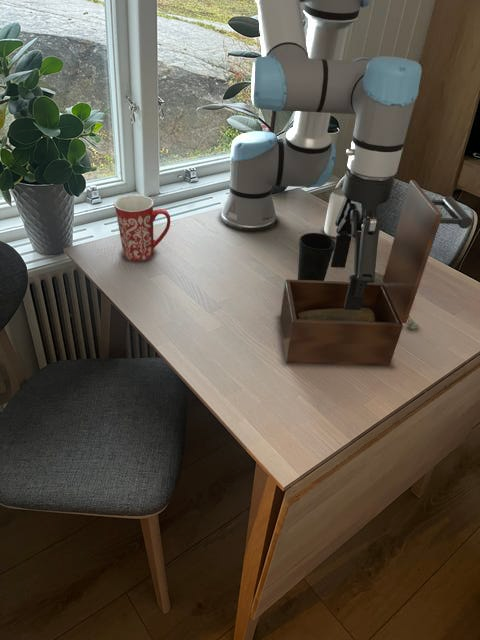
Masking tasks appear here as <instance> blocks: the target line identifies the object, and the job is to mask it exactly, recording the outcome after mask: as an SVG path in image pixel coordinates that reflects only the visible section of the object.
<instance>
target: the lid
mask: <svg viewBox="0 0 480 640" xmlns="http://www.w3.org/2000/svg"><path fill="white" fill-rule="evenodd" d="M438 206H442V208H443V209H444V210H445V211H446V212H447V213H448V214H449V216H450V217H443V213H442V212H441V211H440V209H439V208H438ZM399 215H400V216H399V219H398V222H397V226H396V230H395V234H394V238H393V241H392V245H391V248H390V252H389V255H388V258H387V263H386V266H385V270H384V273H383V275H384V277H383V283H384V286H385V288H386V290H387V292H388V294H389V296H390V299H391V301H392V303H393V305H394V307H395V309H396V311H397V314H398V316H399V318H400V320H401V322H402V324H407V323H408V317H409V315H410V314H411V310H412V308H413V305H414V301H415V299H416V297H417V296H416V295H417V292H418V290H419V287H420V284H421V280H422V278H423V275H424V272H425V268H426V265H427V263H428V260H429V257H430V254H431V250H432V249H433V244H434V241H435V238H436V236H437V233H438V229H439V228H440V224H443V225H447V224H448V225H458V226H459V228H461V229H465V230H466V229H468V228H470V227H471V226H472V224H473V218H472V217H471V216H470V215H469V214H468V212H466V211H465V210H464V209H463V207H462V206H461V205H460V204H459V203H458V202H457V201H456V200H455V198H454V197H453V196H445V197H444V198H443V199H431V198H430V197H429V196H428V195H427V194H426V192H425V190H423V189H422V187H421V186H420V185H419V184H418V183H417V181H416V180H415V179H410V180H409V183H408V187H407V191H406V194H405V197H404V201H403V205H402V208H401V211H400V214H399Z"/></svg>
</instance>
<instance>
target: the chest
mask: <svg viewBox="0 0 480 640" xmlns="http://www.w3.org/2000/svg"><path fill="white" fill-rule="evenodd" d="M349 282H350V281H339V280H336V281H335V280H324V281H315V280H298V279H289V278H287V279H285V280H284V287H283V293H282V294H283V295H282V302H281V310H280V317H279V321H280V330H281V336H282V344H283V351H284V358H285V364H303V365H305V364H306V365H330V366H331V365H335V366H337V365H338V366H366V367H367V366H369V367H390V366H391V363H392V360H393V357H394V354H395V351H396V349H397V346H398V342H399V340H400V336H401V334H402V330H403V328H404V323H402V322H401V320H400V318H399V316H398V314H397V311H396V309H395V307H394V305H393V303H392V301H391V299H390V296H389V294H388V292H387V290H386V288H385V286H384V283H367V286H366V290H365V294H364V298H363V301H362V305H361V308H368V309H370V310H372V311H373V313H374V316H375V322H359V321H331V320H302V319H296V315H297V314H298V313H299V312H303V311H308V310H319V309H335V308H344V304H345V299H346V295H347V291H348V287H349Z"/></svg>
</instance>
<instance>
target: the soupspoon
mask: <svg viewBox="0 0 480 640" xmlns="http://www.w3.org/2000/svg"><path fill="white" fill-rule="evenodd" d="M383 277H384V273H383V274H382V273H381V272H377V271H375V280H374V282H373V283H383ZM407 323H409V329H410V330H415V329H417V328H418V327H419V323H416V321H414V320H413V318H412V316H411V315H410V314H409V317H408V320H407Z"/></svg>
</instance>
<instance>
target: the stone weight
mask: <svg viewBox="0 0 480 640" xmlns="http://www.w3.org/2000/svg"><path fill="white" fill-rule="evenodd" d="M296 319H302V320H331V321H359V322H375V316H374V313H373V311H372V310H370V309H368V308H361V309H360V310H344V308H335V309H319V310H308V311H303V312H299V313H298V314H297V315H296Z"/></svg>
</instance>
